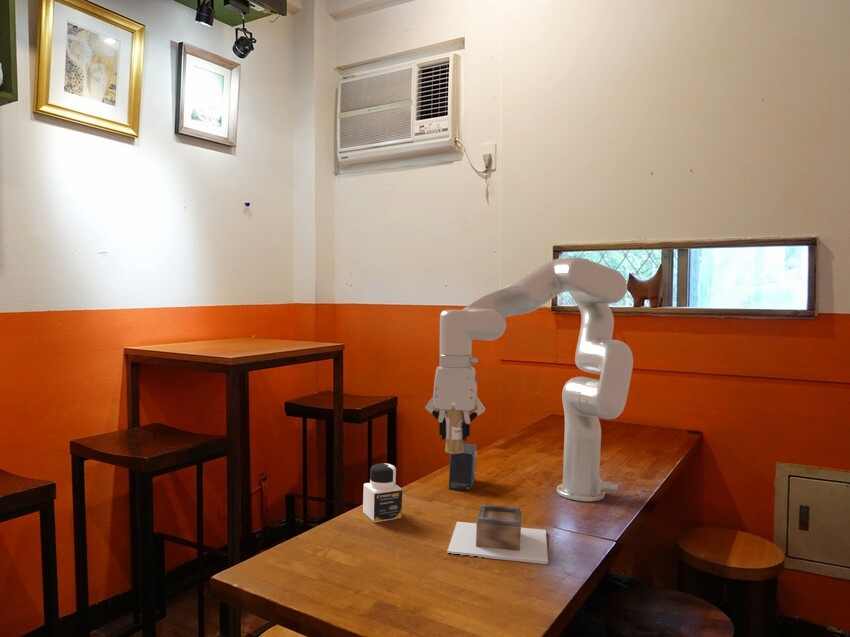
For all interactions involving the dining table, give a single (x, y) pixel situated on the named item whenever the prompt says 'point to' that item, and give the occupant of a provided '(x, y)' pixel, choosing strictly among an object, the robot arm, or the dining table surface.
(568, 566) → the dining table surface
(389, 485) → the medicine bottle
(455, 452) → the sprinkles bottle
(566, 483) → the robot arm
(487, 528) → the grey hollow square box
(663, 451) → the dining table surface
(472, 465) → the small box
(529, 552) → the white rectangular board
